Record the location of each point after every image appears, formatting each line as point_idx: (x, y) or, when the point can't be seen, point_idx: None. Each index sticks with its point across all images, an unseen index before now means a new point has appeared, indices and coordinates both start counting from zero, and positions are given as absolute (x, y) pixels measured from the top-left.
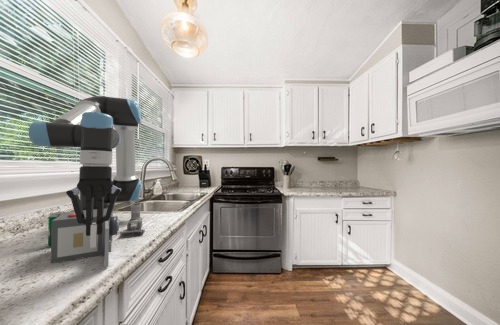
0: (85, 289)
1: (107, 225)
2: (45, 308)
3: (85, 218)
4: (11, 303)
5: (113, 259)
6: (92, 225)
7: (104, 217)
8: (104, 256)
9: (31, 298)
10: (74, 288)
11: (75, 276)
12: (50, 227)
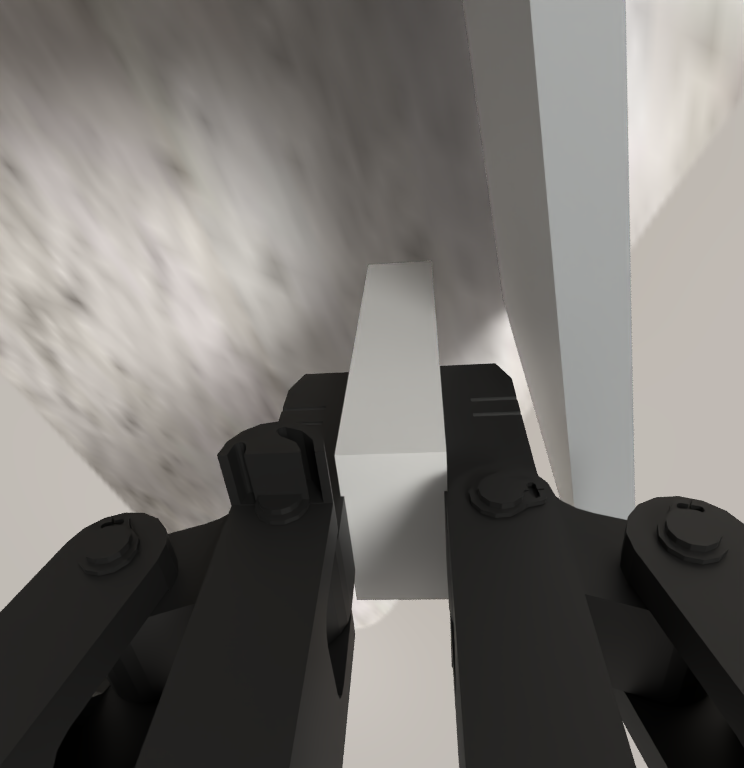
0: None
1: (607, 359)
2: None
3: (184, 622)
4: (135, 490)
5: None
6: (386, 594)
7: (613, 687)
8: (463, 5)
9: (201, 484)
10: None
11: (319, 329)
12: None
